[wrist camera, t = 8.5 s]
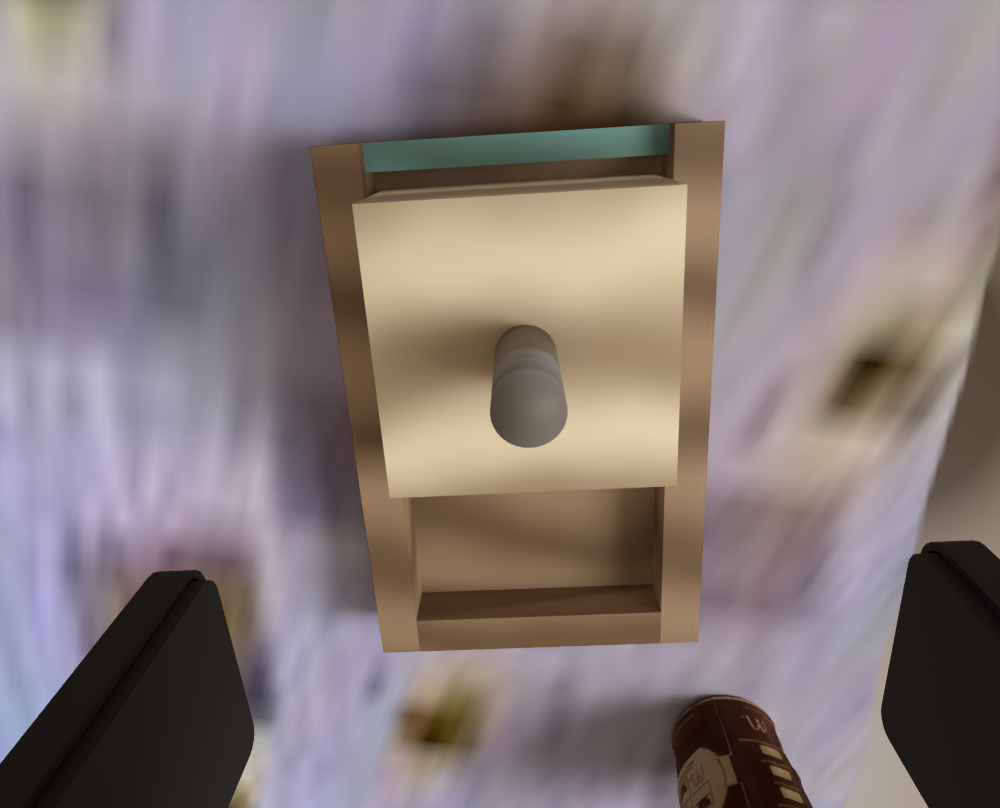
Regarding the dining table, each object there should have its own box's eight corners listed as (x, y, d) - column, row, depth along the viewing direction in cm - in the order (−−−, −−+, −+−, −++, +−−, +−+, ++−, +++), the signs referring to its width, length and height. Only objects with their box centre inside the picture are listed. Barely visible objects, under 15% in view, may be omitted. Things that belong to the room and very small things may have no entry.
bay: (329, 145, 32) (309, 146, 29) (704, 121, 32) (725, 120, 29) (393, 614, 42) (383, 652, 39) (684, 603, 41) (697, 641, 38)
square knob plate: (385, 189, 32) (306, 224, 20) (651, 173, 32) (737, 199, 19) (412, 432, 36) (361, 583, 24) (647, 421, 36) (714, 569, 24)
